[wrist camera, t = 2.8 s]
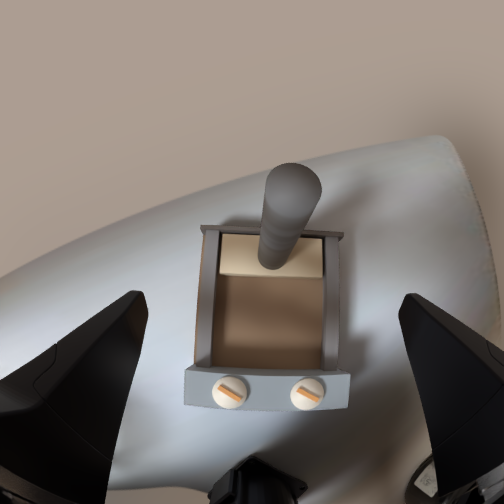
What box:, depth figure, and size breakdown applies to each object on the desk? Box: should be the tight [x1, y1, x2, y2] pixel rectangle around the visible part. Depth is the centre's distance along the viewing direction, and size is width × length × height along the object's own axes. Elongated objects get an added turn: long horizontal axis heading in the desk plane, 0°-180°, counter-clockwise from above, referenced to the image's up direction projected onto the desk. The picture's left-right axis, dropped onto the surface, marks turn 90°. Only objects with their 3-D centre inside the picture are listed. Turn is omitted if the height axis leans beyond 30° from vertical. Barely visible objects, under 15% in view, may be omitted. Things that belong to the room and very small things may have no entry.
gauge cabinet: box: [184, 364, 351, 411], centre depth 18 cm, size 2×11×4 cm, turn 87°
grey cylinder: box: [220, 163, 322, 280], centre depth 16 cm, size 3×8×11 cm, turn 87°
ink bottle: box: [405, 456, 477, 504], centre depth 10 cm, size 10×9×12 cm
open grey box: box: [194, 225, 344, 371], centre depth 20 cm, size 13×11×2 cm
